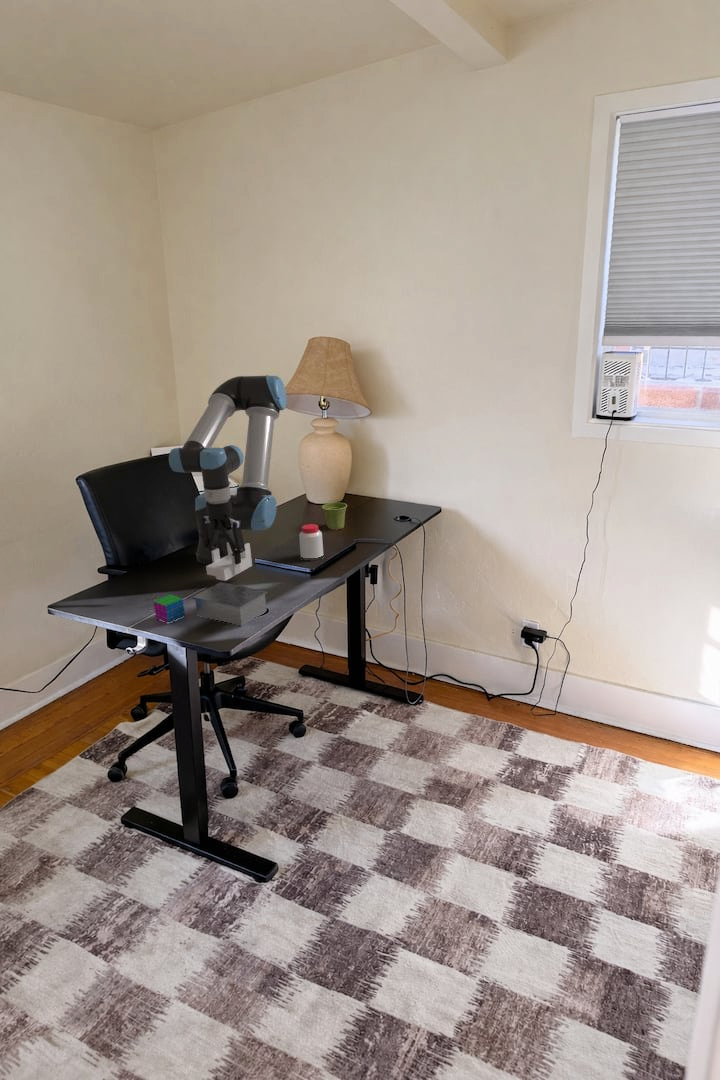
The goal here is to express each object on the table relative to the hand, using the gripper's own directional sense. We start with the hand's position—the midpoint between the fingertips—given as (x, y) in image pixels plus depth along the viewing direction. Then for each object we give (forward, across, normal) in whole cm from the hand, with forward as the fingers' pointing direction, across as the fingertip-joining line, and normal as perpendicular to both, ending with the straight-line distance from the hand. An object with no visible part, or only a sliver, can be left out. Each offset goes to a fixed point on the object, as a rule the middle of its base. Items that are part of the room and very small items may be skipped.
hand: (227, 571), depth 226 cm
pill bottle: (+6, +10, +31) cm, 33 cm away
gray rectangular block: (+4, +15, -17) cm, 23 cm away
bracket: (+1, 0, +1) cm, 2 cm away
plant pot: (+7, 0, +62) cm, 63 cm away
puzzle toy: (+4, +1, -27) cm, 27 cm away
